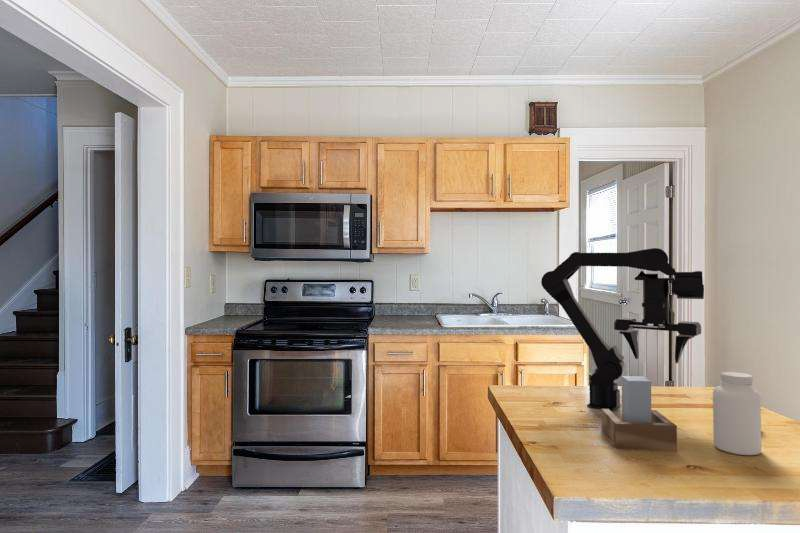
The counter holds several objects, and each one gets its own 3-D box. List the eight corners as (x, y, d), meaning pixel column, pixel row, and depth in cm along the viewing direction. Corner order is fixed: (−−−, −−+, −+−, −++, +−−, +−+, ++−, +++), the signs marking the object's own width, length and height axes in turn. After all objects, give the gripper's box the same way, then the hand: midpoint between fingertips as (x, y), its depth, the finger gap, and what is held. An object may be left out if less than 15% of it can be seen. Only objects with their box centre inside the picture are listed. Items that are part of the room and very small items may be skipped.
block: (622, 435, 107) (621, 375, 107) (644, 436, 107) (643, 376, 107) (628, 443, 103) (628, 380, 103) (651, 444, 102) (651, 381, 102)
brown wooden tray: (601, 431, 110) (601, 408, 110) (656, 432, 109) (656, 410, 109) (616, 448, 100) (616, 423, 100) (677, 450, 98) (676, 425, 98)
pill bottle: (753, 444, 101) (752, 371, 101) (767, 458, 94) (767, 379, 94) (708, 440, 104) (708, 369, 104) (719, 453, 96) (718, 377, 97)
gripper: (705, 298, 123) (706, 360, 123) (627, 295, 136) (628, 352, 136) (695, 300, 115) (696, 367, 115) (612, 297, 128) (613, 358, 128)
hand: (656, 360), depth 124 cm, fingers open, 9 cm apart
